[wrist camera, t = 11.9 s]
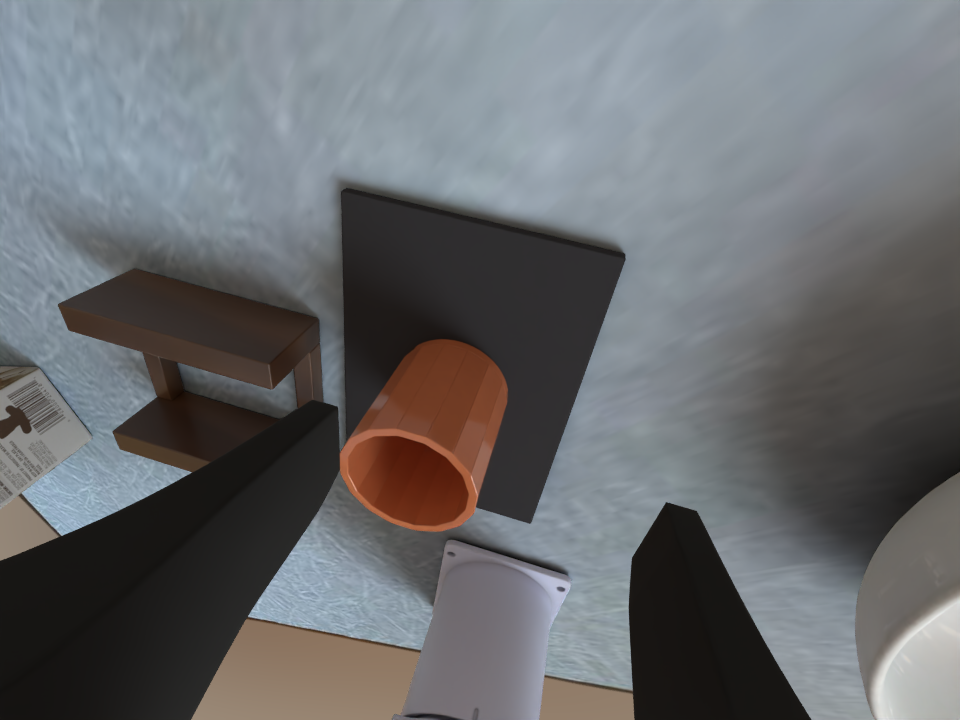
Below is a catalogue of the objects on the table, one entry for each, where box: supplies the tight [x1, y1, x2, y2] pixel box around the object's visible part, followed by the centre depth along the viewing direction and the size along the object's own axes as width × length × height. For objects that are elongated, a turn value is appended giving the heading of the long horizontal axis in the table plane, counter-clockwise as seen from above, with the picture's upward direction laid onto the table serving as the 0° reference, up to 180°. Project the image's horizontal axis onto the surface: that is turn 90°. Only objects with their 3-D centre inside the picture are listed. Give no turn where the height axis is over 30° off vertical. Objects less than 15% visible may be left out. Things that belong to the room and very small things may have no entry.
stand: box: [58, 269, 323, 472], centre depth 24 cm, size 9×10×4 cm
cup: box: [340, 339, 508, 532], centre depth 20 cm, size 5×5×6 cm
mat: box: [341, 188, 625, 524], centre depth 22 cm, size 16×11×1 cm
